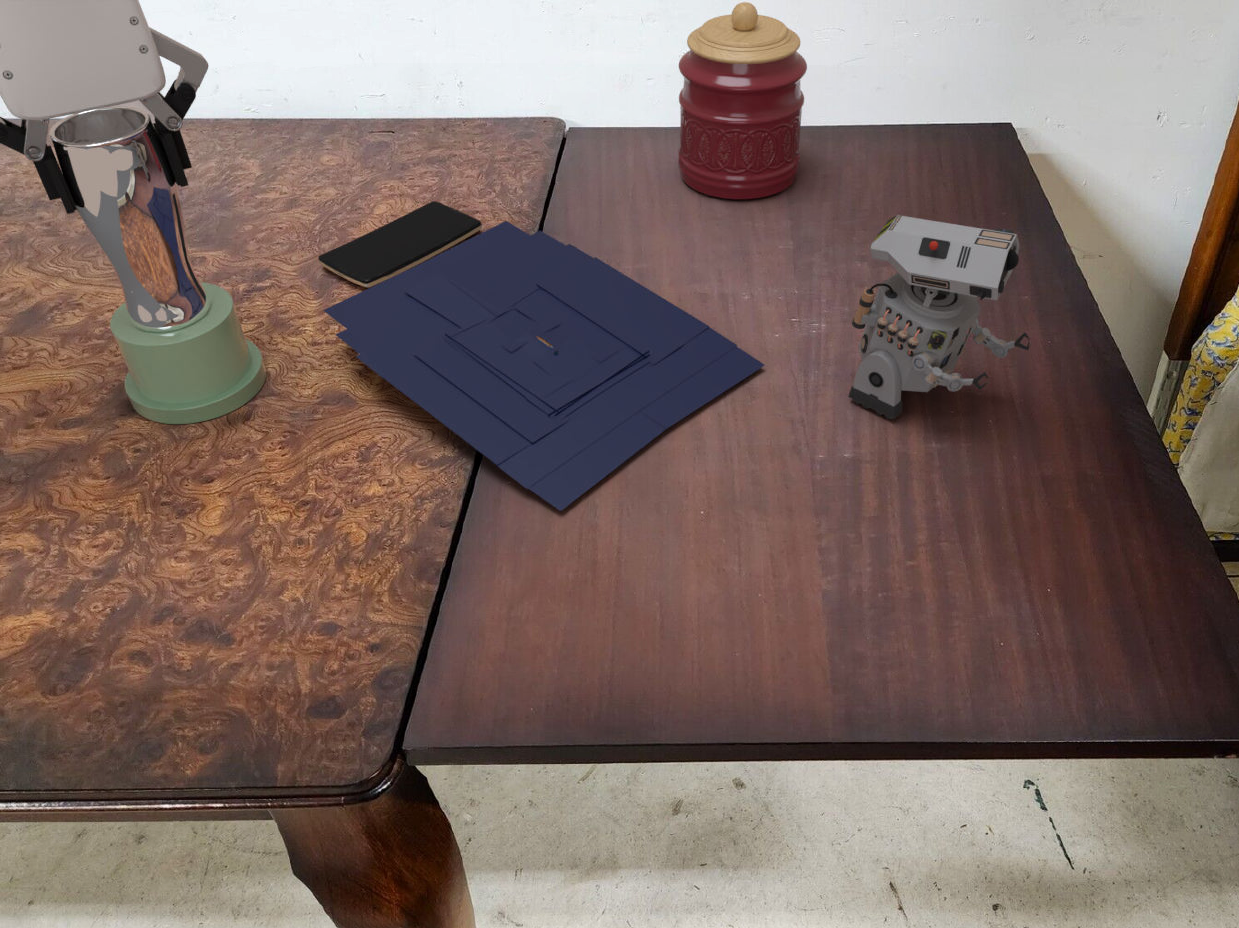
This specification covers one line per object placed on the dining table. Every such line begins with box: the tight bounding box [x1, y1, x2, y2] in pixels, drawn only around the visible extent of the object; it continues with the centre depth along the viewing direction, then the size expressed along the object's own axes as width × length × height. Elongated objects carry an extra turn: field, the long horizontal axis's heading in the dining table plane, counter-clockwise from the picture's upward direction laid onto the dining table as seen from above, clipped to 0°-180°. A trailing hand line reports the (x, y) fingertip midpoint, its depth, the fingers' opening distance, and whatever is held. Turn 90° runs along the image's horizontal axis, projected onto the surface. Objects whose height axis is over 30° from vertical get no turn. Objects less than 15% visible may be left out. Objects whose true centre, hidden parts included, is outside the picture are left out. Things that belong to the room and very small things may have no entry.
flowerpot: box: [109, 281, 267, 425], centre depth 86 cm, size 11×11×7 cm
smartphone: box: [318, 200, 483, 288], centre depth 104 cm, size 7×1×15 cm
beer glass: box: [48, 106, 211, 332], centre depth 78 cm, size 7×7×15 cm
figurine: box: [848, 214, 1031, 420], centre depth 81 cm, size 9×12×15 cm
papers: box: [322, 220, 766, 512], centre depth 89 cm, size 24×30×4 cm
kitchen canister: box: [678, 1, 808, 200], centre depth 109 cm, size 13×13×18 cm
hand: (124, 190), depth 76 cm, fingers closed on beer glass, 7 cm apart
